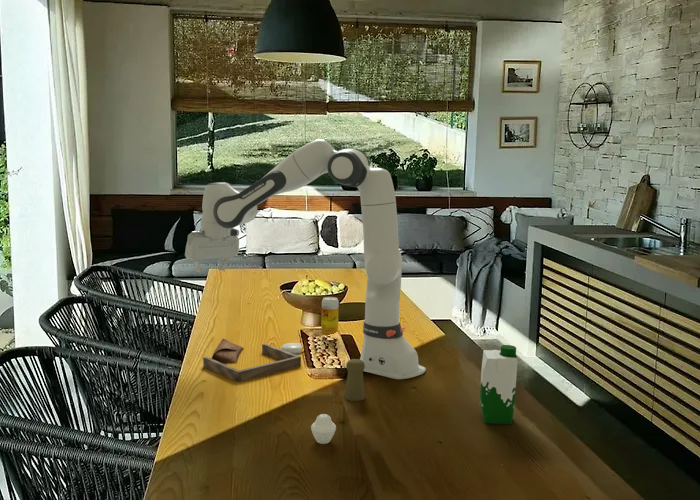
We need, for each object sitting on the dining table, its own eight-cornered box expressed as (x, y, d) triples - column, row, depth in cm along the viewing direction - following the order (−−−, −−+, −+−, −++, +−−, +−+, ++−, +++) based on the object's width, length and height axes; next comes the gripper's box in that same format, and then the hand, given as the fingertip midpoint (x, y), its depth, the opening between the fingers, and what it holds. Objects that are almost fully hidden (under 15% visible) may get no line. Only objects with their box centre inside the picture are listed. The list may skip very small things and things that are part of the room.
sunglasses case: (237, 363, 242) (227, 346, 241) (219, 374, 242) (208, 356, 241) (244, 347, 259) (234, 331, 258) (226, 357, 260) (216, 341, 259)
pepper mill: (350, 402, 211) (351, 364, 209) (340, 395, 216) (341, 358, 214) (369, 399, 213) (370, 361, 212) (359, 392, 219) (360, 355, 217)
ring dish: (309, 350, 258) (310, 346, 257) (291, 355, 252) (291, 350, 252) (295, 345, 263) (295, 341, 263) (277, 349, 258) (277, 345, 258)
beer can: (318, 339, 271) (319, 299, 269) (325, 335, 277) (326, 295, 274) (333, 341, 269) (334, 301, 267) (340, 337, 275) (341, 297, 272)
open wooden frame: (300, 365, 241) (300, 356, 241) (238, 381, 225) (238, 372, 224) (264, 352, 255) (265, 343, 254) (203, 366, 238) (203, 357, 238)
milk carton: (516, 425, 197) (520, 352, 194) (481, 424, 197) (485, 351, 194) (510, 413, 205) (514, 342, 202) (476, 412, 206) (480, 341, 202)
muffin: (315, 448, 180) (316, 420, 179) (307, 438, 186) (307, 411, 185) (339, 444, 183) (340, 417, 181) (330, 434, 188) (330, 408, 187)
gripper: (194, 233, 240) (191, 275, 242) (243, 230, 255) (239, 270, 257) (182, 229, 244) (179, 271, 246) (231, 227, 259) (228, 267, 261)
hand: (210, 271), depth 252 cm, fingers open, 8 cm apart
